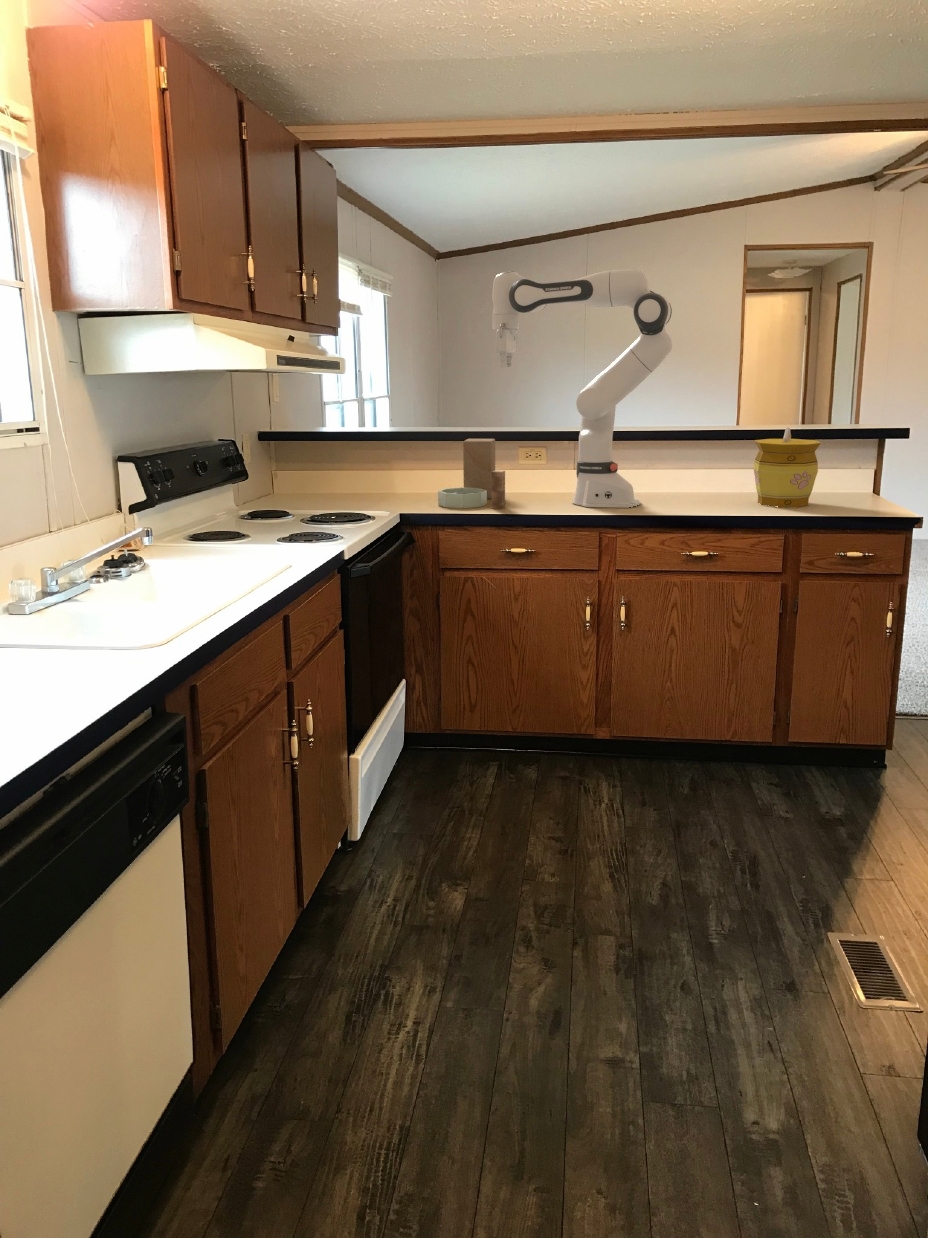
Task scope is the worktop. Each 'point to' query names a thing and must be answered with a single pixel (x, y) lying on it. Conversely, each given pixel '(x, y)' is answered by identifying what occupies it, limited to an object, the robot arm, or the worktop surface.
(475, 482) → the wooden block
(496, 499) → the wooden rectangular beam
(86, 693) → the worktop surface
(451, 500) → the octagonal green tray
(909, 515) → the worktop surface
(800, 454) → the container
